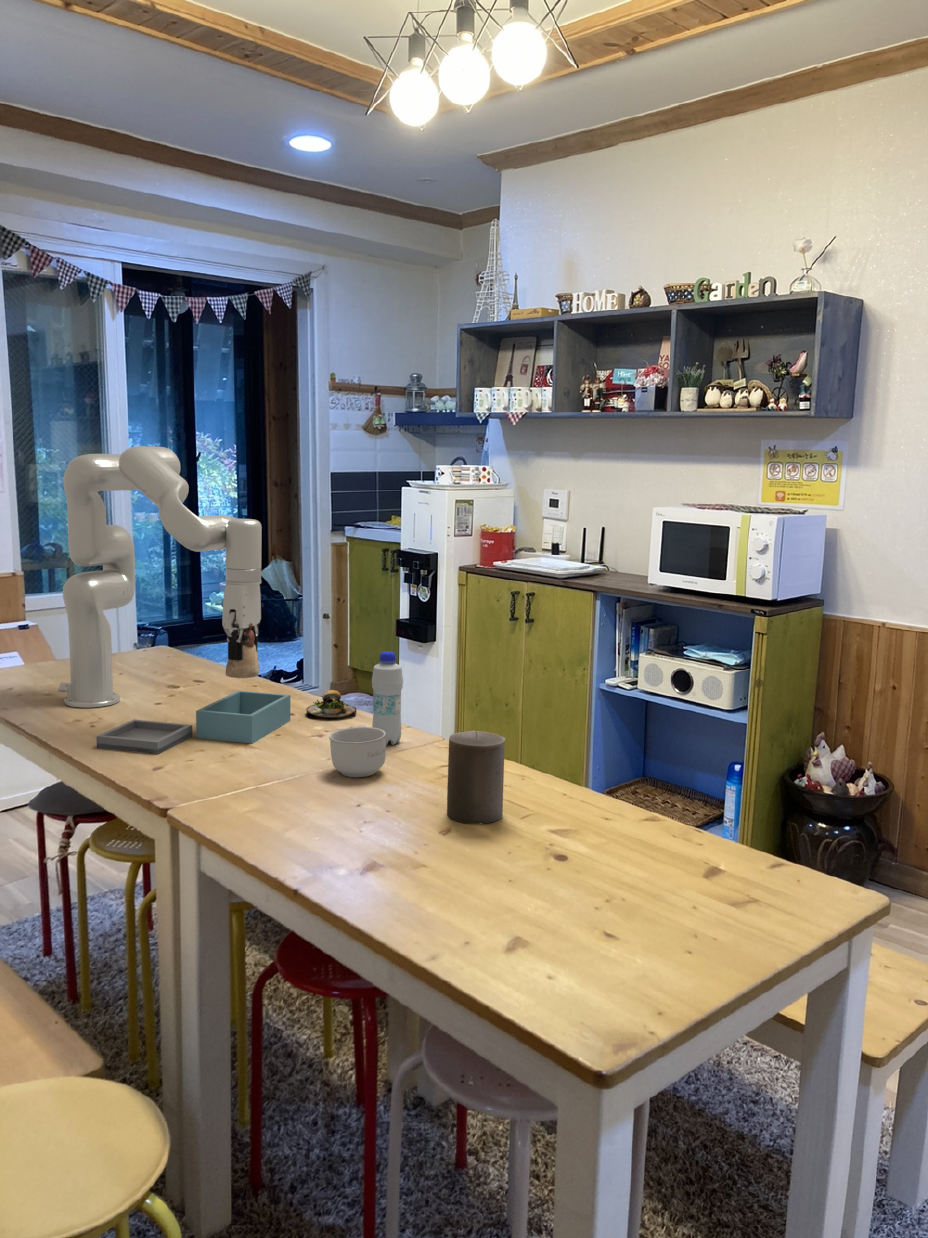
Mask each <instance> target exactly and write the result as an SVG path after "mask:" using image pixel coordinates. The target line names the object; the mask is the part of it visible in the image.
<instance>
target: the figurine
mask: <svg viewBox="0 0 928 1238" xmlns="http://www.w3.org/2000/svg"><path fill="white" fill-rule="evenodd" d="M234 627H237V628H239V626H234ZM252 627H253V624H252V623H251V624H250V625H249V628H247V629H244V630H243V633H242V638H241V642H243V659H242V660H241V661H238V660H229V659H228V658H227V663H226V667H225V675H226V677H229V678H233V679H234V678H235V679H248V678H249V679H250V678H255V677H257V676H259V674H260V664H259V663H260V662H259V656H258V655H259V654H258V649H257V650H256V646H255V644H254V640H255V636H254V633H253V631H252V630H251V629H252ZM235 632H236V634H238V631H235ZM248 637H249V638H248Z"/></svg>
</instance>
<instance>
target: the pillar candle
mask: <svg viewBox="0 0 928 1238" xmlns="http://www.w3.org/2000/svg"><path fill="white" fill-rule="evenodd" d="M505 741H506V737H504V736H502V735H500V734H497V733H492V732H488V731H480V730H479V731H478V730H469V731H467V730H466V731H460V732H456V733H452V734H451V735H449V738H448V758H447V759H448V761H447V787H446V789H447V792H446V793H447V795H446V814H447V817H448V818H450V819H451V820H453V821H456V822H459V823H461V824H465V825H482V824H491V823H495V822H497V821H499V820H501V819H502V818H503V811H504V809H503V807H504V805H503V804H504V784H505V783H504V779H505V778H504V777H505V776H504V774H505V746H506V745H505V743H506V742H505Z"/></svg>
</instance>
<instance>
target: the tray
mask: <svg viewBox="0 0 928 1238" xmlns="http://www.w3.org/2000/svg"><path fill="white" fill-rule="evenodd" d="M192 737H193V724H187V723H185V724H184V723H175V722H163V721H155V720H154V721H153V720H143V719H135V718H134V719H132V720H129V721H127V722H125V723H123V724H120V725H119V726H116V727H114V728H111V729H110V730H107V731H105V732H102V733H100V734H98V735H96V737H95V739H96V742H95V743H96V745H95V746H96V747H95V748H97V749H105V750H114V751H123V752H133V753H141V754H150V755H151V754H152V755H160V754H161V753H164V752H165V751H167V750H169V749H171V748H173V747H175V746H177V745H178V744H180V743H182V742H185V741H186V740H188V739H190V738H192Z"/></svg>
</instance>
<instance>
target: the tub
mask: <svg viewBox="0 0 928 1238" xmlns="http://www.w3.org/2000/svg"><path fill="white" fill-rule="evenodd" d="M195 721H196V722H195V724H196V726H195V731H196V732H195V733H196V734H195V735H196V739H199V740H200V739H201V740H211V741H212V740H213V741H220V742H221V741H222V742H233V743H242V744H254V743H256V742H257V741H259V740H260V739H262V738H264V737H266V736H267V735H269V734H271V733H272V732H275V731H276V730H277V729H279V728H280V727H283V725H285V724H287V723H289V722H291V695H290V694H282V693H281V694H280V693H269V692H268V693H267V692H260V691H259V692H258V691H246V690H236V691H235V692H232V693H230V694H227V695H226V696H224V697H222V698H220V699H218V700H216V701H214V702H212V703H209V704H208V705H205V706H203V707H201V708H200V709H198V710H195Z"/></svg>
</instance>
